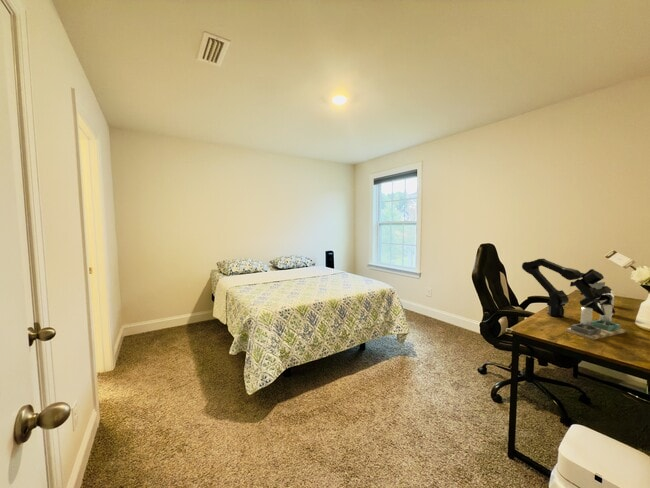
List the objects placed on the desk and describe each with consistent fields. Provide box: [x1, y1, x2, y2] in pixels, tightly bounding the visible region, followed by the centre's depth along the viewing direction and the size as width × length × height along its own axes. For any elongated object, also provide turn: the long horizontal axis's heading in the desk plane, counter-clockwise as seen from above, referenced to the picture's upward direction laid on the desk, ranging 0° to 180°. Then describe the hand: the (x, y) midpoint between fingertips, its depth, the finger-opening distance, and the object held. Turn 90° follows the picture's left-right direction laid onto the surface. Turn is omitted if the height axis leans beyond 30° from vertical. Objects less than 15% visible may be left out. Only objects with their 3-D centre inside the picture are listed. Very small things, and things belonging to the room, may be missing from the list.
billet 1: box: [579, 306, 594, 330], centre depth 146 cm, size 4×4×12 cm
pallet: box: [564, 319, 626, 341], centre depth 149 cm, size 27×12×4 cm, turn 108°
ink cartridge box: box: [598, 291, 615, 316], centre depth 177 cm, size 9×5×15 cm, turn 168°
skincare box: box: [583, 280, 606, 299], centre depth 200 cm, size 8×7×16 cm
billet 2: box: [599, 304, 613, 326], centre depth 151 cm, size 4×4×12 cm
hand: (609, 314), depth 149 cm, fingers open, 9 cm apart
